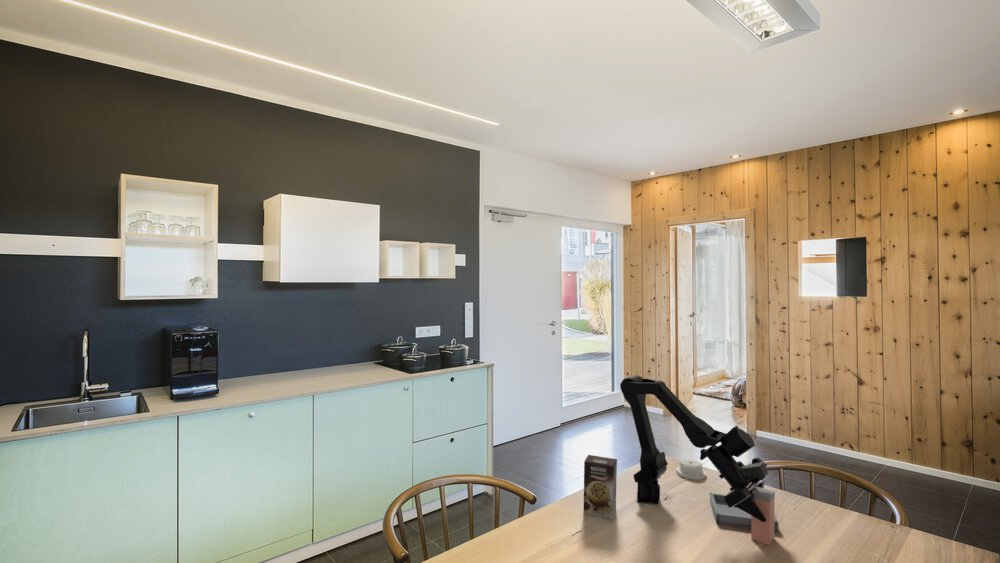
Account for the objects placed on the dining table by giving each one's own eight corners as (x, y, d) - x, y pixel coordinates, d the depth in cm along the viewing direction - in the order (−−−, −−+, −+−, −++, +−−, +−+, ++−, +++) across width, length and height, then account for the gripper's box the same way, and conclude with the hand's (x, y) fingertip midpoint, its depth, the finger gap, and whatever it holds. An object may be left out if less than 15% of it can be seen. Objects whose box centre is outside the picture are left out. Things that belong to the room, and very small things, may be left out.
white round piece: (709, 481, 169) (700, 469, 179) (710, 468, 169) (701, 458, 179) (680, 480, 170) (673, 468, 180) (680, 467, 170) (673, 456, 180)
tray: (716, 523, 140) (716, 513, 140) (709, 501, 153) (709, 492, 153) (778, 532, 135) (778, 522, 135) (765, 508, 149) (765, 499, 149)
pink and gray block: (751, 538, 132) (751, 491, 132) (756, 532, 135) (756, 486, 135) (769, 545, 129) (770, 497, 129) (774, 538, 132) (774, 491, 132)
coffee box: (582, 514, 145) (583, 461, 145) (587, 504, 151) (587, 453, 151) (613, 520, 141) (613, 465, 141) (616, 510, 147) (617, 458, 147)
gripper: (737, 460, 127) (783, 515, 120) (758, 442, 141) (801, 491, 134) (706, 480, 133) (749, 535, 126) (729, 461, 147) (769, 509, 139)
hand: (768, 516), depth 131 cm, fingers open, 7 cm apart
